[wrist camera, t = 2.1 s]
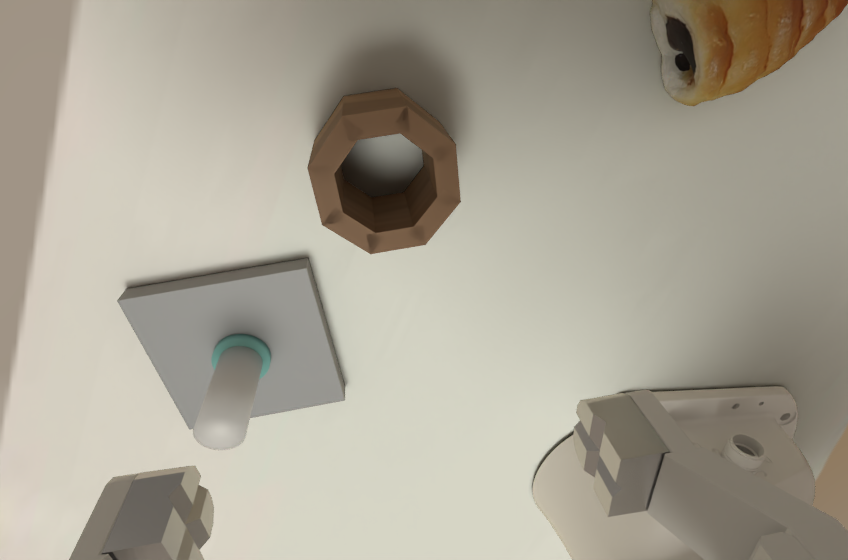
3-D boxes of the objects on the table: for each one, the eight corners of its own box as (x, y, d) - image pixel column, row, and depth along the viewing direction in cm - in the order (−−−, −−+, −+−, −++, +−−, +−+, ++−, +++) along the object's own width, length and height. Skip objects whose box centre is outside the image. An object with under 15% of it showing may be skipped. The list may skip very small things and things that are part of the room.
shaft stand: (307, 258, 26) (295, 333, 20) (345, 387, 32) (344, 477, 26) (126, 288, 26) (59, 375, 20) (194, 415, 31) (157, 514, 25)
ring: (434, 81, 22) (452, 98, 19) (446, 202, 26) (464, 238, 22) (305, 101, 22) (295, 123, 18) (333, 221, 25) (331, 260, 22)
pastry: (836, -133, 20) (928, -157, 17) (836, 23, 24) (912, 27, 21) (634, -18, 22) (684, -19, 18) (661, 115, 25) (708, 133, 22)
